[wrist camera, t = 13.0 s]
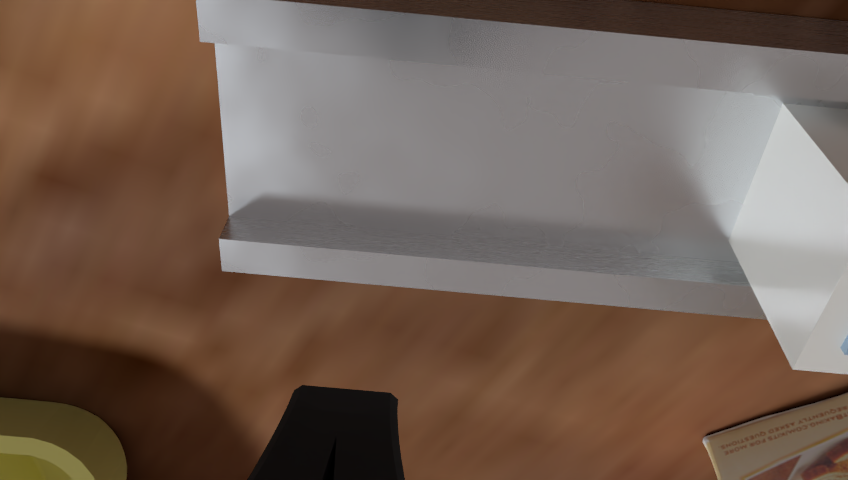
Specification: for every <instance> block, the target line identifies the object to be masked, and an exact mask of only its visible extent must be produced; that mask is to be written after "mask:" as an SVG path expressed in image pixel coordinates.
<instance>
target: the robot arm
mask: <svg viewBox="0 0 848 480" xmlns="http://www.w3.org/2000/svg"><path fill="white" fill-rule="evenodd" d="M397 405H398V399H397V398H395V397H394V396H393V395H392V394H391V393H386V392H374V391H363V390H351V389H340V388H328V387H317V386H305V385H302V386H300V387H299V388H297V389H296V390H294V392H293V394H292V397H291V399H290V402H289V404H288V406H287V408H286V410H285V412H284V414H283V417H282V419H281V421H280V423H279V425H278V427H277V429H276V430H275V432H274V434H273V436H272V438H271V440H270V442H269V443H268V445H267V447H266V449H265V450H264V452H263V454H262V456H261V457H260V459H259V461H258V463H257V464H256V466H255V468H254V470H253V471H252V473H251V475H250V476H249V478H248V479H247V480H405V478H404V472H403V466H402V460H401V453H400V445H399V435H398V419H397Z"/></svg>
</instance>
